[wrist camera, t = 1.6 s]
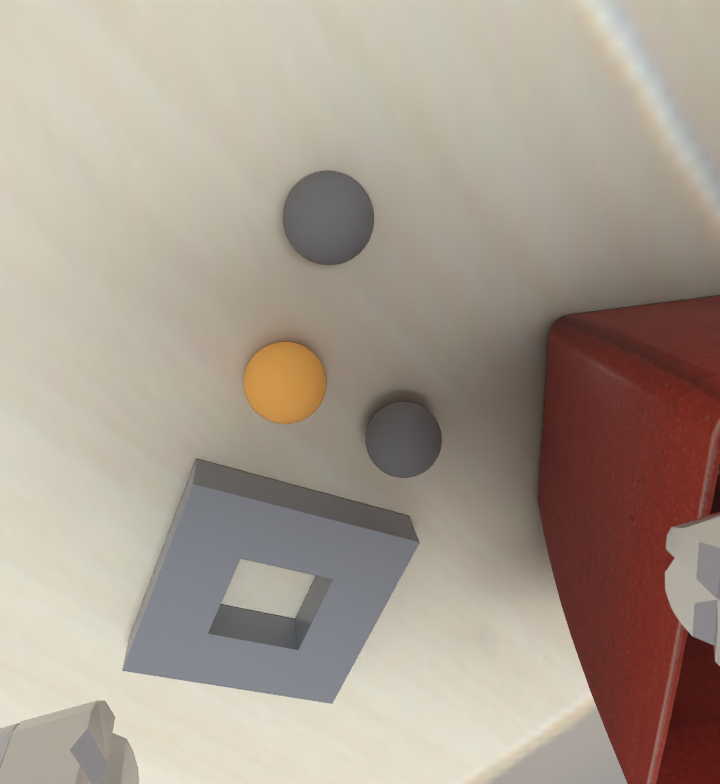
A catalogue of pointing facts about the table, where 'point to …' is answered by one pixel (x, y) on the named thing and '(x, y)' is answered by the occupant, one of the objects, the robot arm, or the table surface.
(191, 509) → the grey square frame
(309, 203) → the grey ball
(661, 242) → the table surface
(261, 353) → the orange ball
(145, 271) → the table surface
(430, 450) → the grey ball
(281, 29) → the table surface
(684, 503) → the plant pot
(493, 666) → the table surface
